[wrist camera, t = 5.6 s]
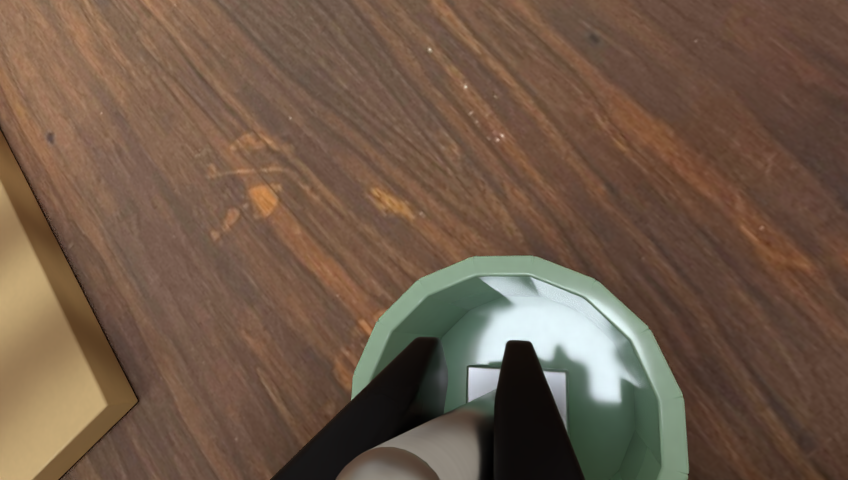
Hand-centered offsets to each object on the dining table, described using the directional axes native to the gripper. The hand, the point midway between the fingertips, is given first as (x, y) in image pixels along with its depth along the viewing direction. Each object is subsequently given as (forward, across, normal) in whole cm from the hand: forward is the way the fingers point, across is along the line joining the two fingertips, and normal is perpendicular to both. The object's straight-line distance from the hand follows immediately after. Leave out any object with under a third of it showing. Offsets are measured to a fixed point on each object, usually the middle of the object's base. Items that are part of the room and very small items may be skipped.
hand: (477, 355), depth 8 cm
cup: (+5, 0, +7) cm, 8 cm away
